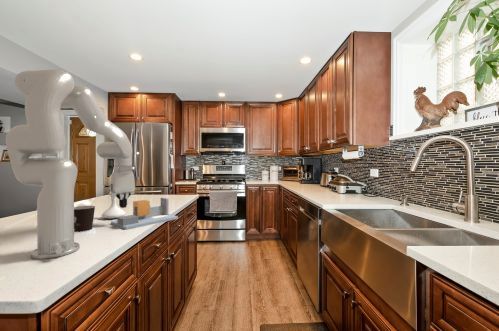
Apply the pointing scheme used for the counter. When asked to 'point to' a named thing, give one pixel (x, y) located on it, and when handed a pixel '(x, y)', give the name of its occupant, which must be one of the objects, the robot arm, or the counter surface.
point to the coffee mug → (83, 218)
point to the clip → (142, 207)
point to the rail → (145, 217)
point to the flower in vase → (113, 208)
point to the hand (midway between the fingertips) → (123, 207)
